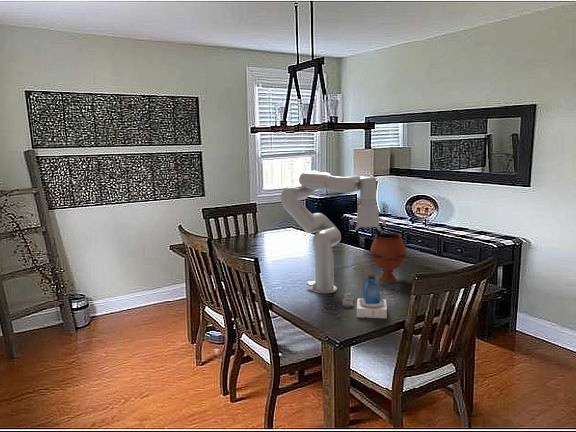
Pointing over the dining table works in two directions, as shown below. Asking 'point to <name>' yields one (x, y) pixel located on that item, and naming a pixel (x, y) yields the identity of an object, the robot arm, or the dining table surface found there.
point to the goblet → (388, 253)
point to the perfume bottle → (371, 291)
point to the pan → (371, 304)
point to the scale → (371, 310)
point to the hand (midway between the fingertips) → (367, 238)
